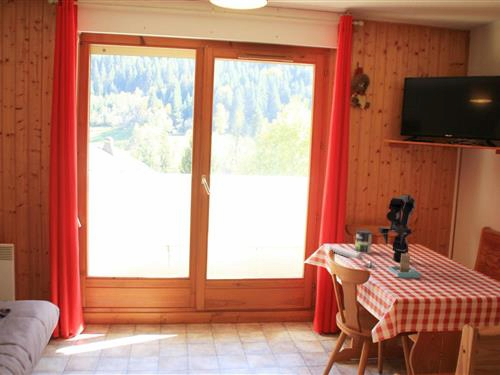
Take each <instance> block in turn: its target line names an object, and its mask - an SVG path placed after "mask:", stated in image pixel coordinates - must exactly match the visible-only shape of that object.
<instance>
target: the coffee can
mask: <svg viewBox="0 0 500 375" xmlns="http://www.w3.org/2000/svg"><path fill="white" fill-rule="evenodd" d="M355 232H356V234H355V245H354V246H355V247H354V252H358V253H360V254H361V255H363V254H368V255H369V254H371V249H372V248H371V247H372V236H373V231H371V230H369V229H356V231H355Z"/></svg>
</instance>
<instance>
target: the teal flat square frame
mask: <svg viewBox="0 0 500 375" xmlns="http://www.w3.org/2000/svg"><path fill="white" fill-rule="evenodd" d="M397 270H398V271H397ZM388 271H391V272H392V273H393V274H395V275H396V278H397V279H421V272H420V271H418V270H417V269H415V268H412V266H409V273H400V266H392V265H391V266H390V265H389V266H388Z"/></svg>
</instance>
